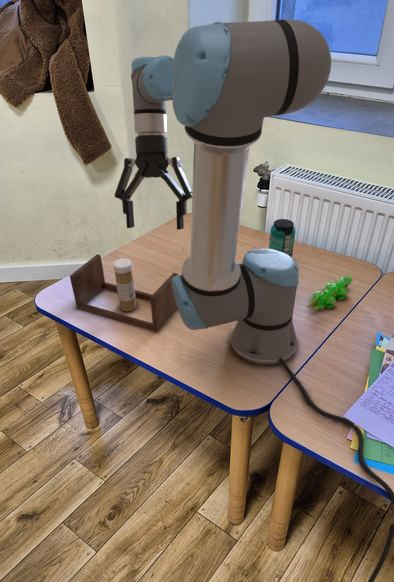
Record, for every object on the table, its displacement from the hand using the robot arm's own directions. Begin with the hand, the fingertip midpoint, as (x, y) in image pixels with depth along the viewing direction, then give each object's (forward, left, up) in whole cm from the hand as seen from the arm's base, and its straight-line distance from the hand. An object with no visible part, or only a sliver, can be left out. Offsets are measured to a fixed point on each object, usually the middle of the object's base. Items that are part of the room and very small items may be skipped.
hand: (155, 228), depth 117 cm
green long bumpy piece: (-18, -42, -19) cm, 50 cm away
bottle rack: (-5, +10, -18) cm, 22 cm away
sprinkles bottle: (-5, +10, -19) cm, 22 cm away
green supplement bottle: (+5, -38, -19) cm, 43 cm away
